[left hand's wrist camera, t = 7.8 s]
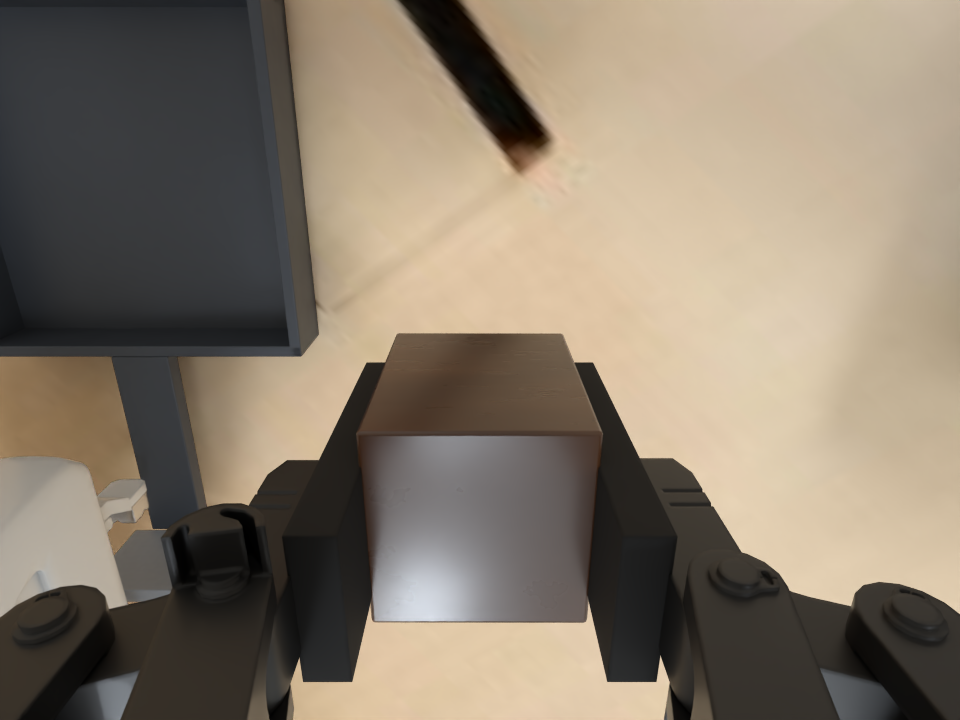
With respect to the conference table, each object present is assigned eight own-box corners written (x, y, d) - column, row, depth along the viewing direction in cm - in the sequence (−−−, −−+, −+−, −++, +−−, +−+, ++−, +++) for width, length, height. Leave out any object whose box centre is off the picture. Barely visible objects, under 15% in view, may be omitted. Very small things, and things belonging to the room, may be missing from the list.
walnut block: (563, 332, 14) (604, 432, 9) (555, 476, 16) (587, 624, 11) (396, 332, 14) (354, 431, 9) (403, 476, 16) (371, 623, 11)
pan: (283, -6, 28) (206, -59, 20) (336, 505, 39) (299, 602, 31) (-76, -5, 28) (-296, -59, 20) (75, 505, 39) (-31, 602, 31)
